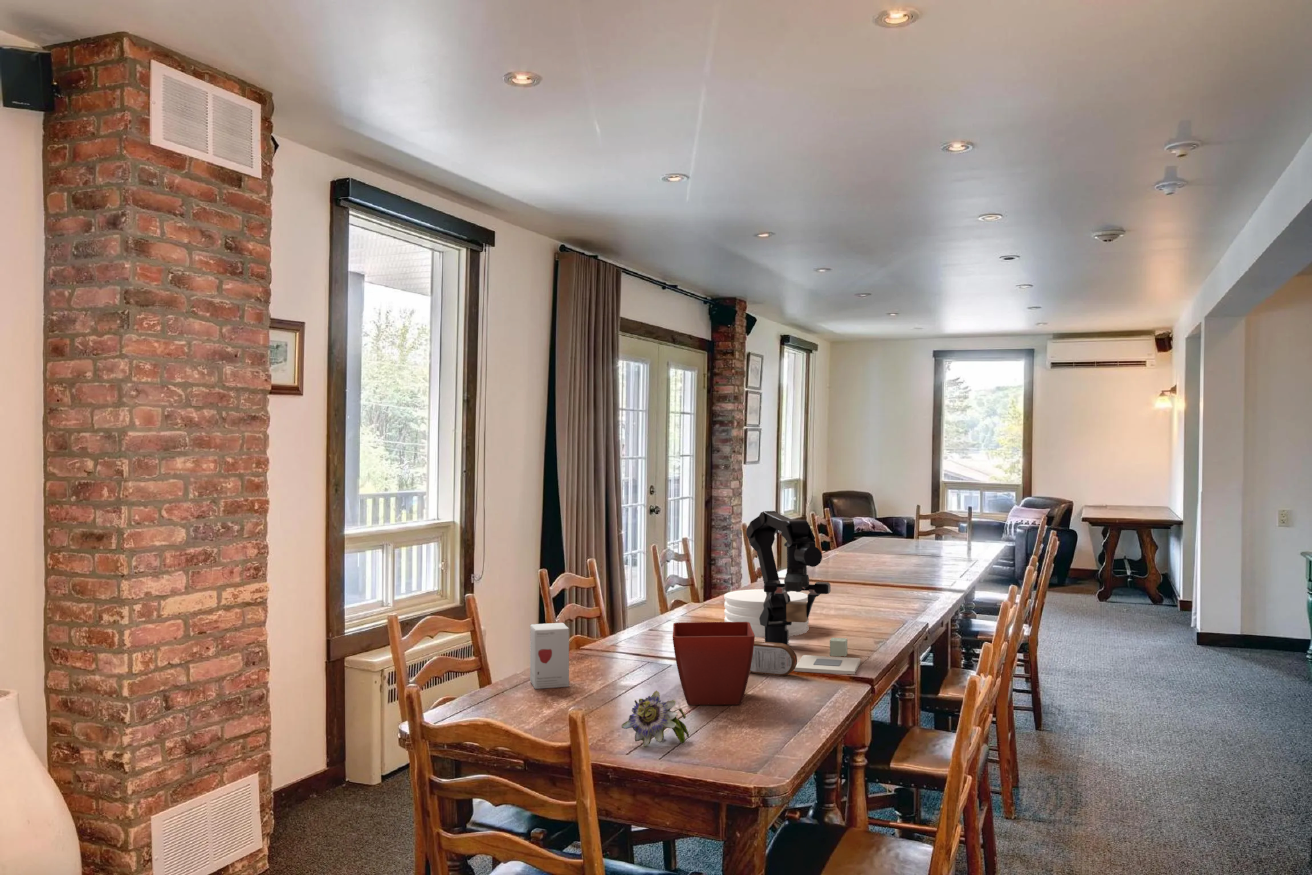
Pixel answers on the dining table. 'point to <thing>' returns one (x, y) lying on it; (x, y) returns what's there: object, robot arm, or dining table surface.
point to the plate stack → (758, 610)
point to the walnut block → (796, 611)
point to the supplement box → (549, 655)
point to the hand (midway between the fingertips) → (797, 616)
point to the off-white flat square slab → (827, 664)
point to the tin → (773, 659)
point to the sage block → (838, 647)
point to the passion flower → (655, 720)
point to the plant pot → (713, 660)
